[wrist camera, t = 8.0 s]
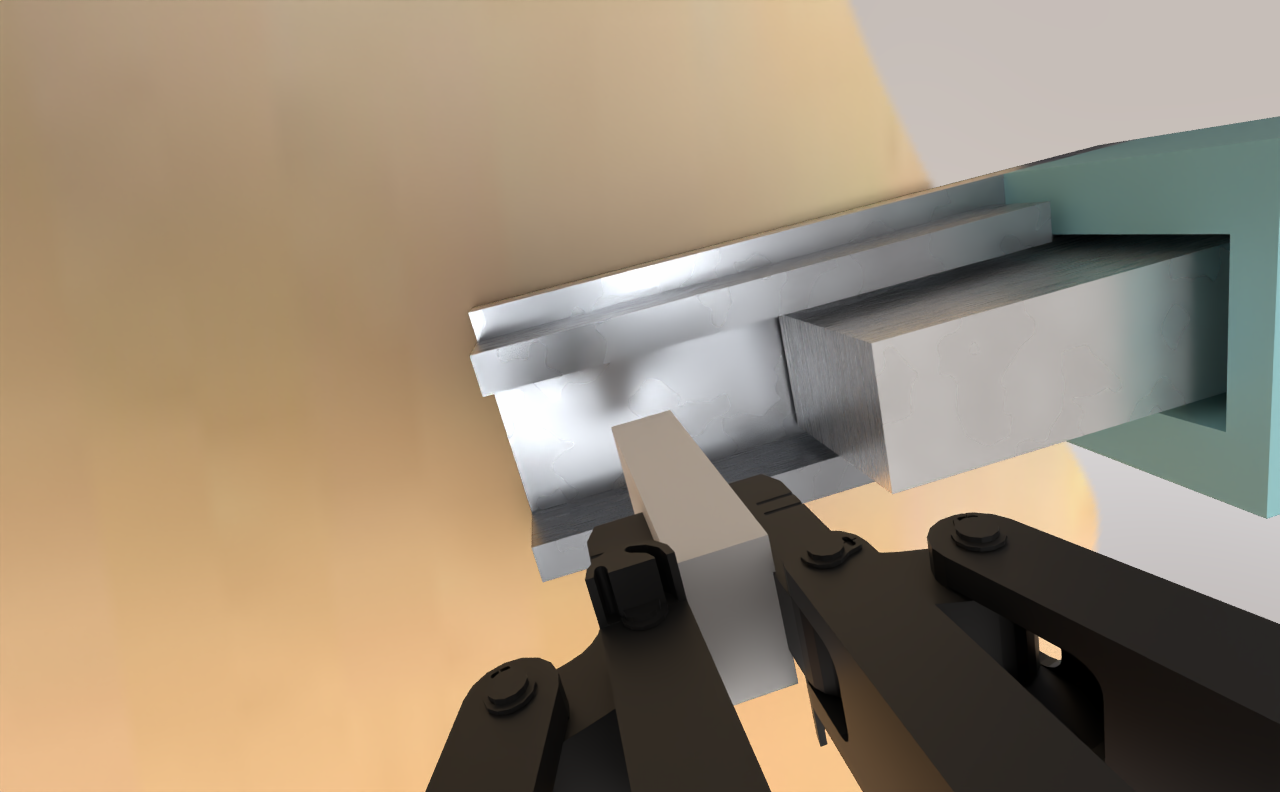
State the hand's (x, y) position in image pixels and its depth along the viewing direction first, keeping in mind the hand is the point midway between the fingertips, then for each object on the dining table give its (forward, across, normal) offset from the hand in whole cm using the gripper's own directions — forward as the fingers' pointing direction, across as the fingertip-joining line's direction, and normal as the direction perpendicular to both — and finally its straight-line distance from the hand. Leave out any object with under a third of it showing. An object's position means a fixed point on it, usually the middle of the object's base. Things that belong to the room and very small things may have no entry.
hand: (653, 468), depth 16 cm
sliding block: (+5, +12, 0) cm, 13 cm away
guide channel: (+7, +8, 0) cm, 10 cm away
